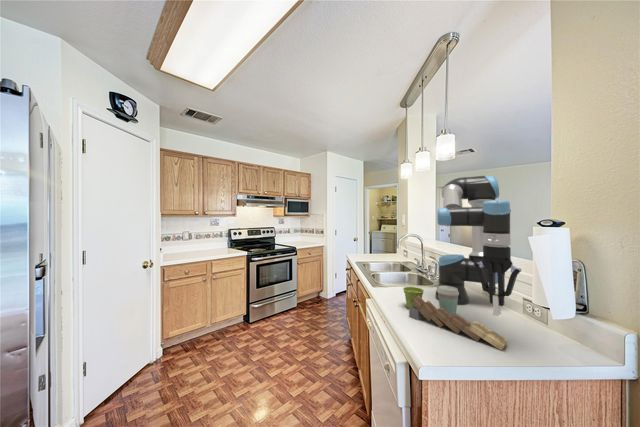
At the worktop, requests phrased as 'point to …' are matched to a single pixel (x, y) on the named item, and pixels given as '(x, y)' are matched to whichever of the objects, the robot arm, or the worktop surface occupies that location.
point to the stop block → (415, 313)
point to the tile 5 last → (417, 303)
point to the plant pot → (412, 294)
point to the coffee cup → (448, 298)
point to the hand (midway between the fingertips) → (496, 313)
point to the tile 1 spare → (488, 335)
